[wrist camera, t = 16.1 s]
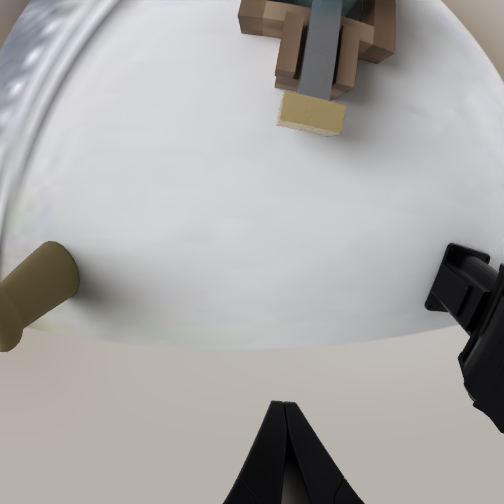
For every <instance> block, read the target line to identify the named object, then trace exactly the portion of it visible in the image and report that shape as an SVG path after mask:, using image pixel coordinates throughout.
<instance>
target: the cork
mask: <svg viewBox="0 0 504 504" xmlns="http://www.w3.org/2000/svg"><path fill="white" fill-rule="evenodd" d="M79 280H80V279H79V273H78V269H77V267H76V264H75V261H74V260H73V258H72V257H71V255H70V253H69V252H68V251H67V250H66V249H65V248H64V247H63V246H62V245H60V244H58V243H57V242H52V241H48V242H45V243H43V244H42V245H41V246H40V247H39V248H37V249H36V250H35V251H34V252H33V253H32V254H30V255H29V256H28V257H27V258H26V259H25V260H24V261H23V262H22V263H21V264H19V265H18V266H17V267H16V268H15V269H14V270H13V271H12V272H11V273H10V274H9V275H8V276H7V277H6V278H5V279H4V280H3V281H2V282H1V283H0V352H8V351H10V350H12V349H13V348H14V347H15V346H16V345H17V344H18V343H19V342H20V339H21V337H22V333H23V329H24V328H25V327H27V326H28V325H29V324H31V323H32V322H34V321H35V320H37V319H38V318H40V317H41V316H43V315H44V314H46V313H47V312H49V311H50V310H52V309H53V308H55V307H56V306H58V305H59V304H61V303H62V302H64V301H65V300H67V299H68V298H70V297H71V296H73V295H74V294H75V293H76V292H77V290H78V288H79Z"/></svg>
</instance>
